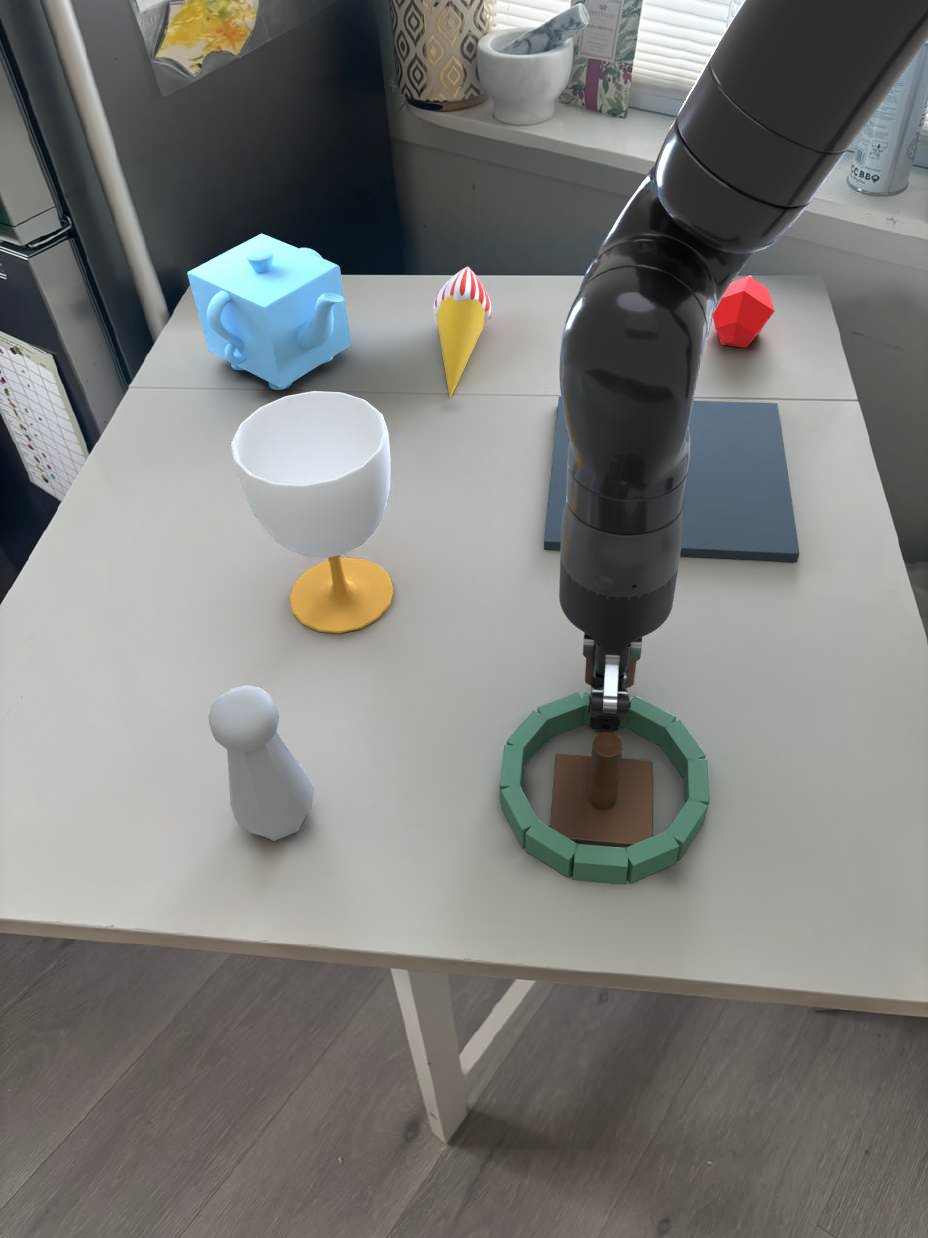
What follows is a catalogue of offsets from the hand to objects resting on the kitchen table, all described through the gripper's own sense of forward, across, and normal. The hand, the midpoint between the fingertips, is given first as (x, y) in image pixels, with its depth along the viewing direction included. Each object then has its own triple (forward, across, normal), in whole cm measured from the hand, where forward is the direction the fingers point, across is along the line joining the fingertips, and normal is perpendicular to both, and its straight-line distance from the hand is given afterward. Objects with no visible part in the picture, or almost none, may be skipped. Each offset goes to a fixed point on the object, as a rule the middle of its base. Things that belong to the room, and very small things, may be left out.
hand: (604, 716), depth 76 cm
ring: (0, -6, 0) cm, 7 cm away
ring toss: (0, -8, 0) cm, 8 cm away
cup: (0, +11, +23) cm, 26 cm away
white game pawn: (+1, -11, +23) cm, 25 cm away
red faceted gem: (0, +54, -13) cm, 56 cm away
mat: (0, +29, -5) cm, 30 cm away
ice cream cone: (0, +50, +18) cm, 53 cm away
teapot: (0, +45, +35) cm, 57 cm away
